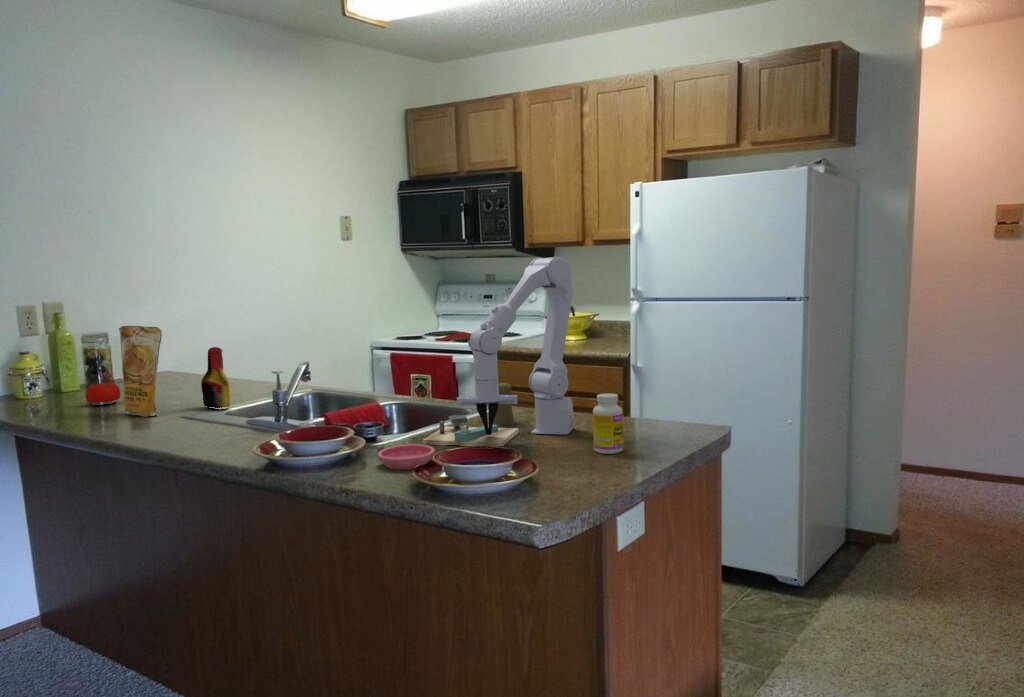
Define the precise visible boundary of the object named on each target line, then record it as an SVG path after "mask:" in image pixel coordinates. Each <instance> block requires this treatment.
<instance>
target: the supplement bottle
mask: <svg viewBox="0 0 1024 697" xmlns="http://www.w3.org/2000/svg"><path fill="white" fill-rule="evenodd" d="M596 401H597V405H595V406H594V408H593V410H592V423H593V424H592V426H593V427H592V430H593V450H594V452H596V453H597V454H603V455H615V454H619V453H622V451H623V450H624V427H623V426H624V424H623V420H624V419H623V418H624V417H623V413H624V412H623V409H622V407H621V406H620V405H619V404H618V401H619V395H618V394H617V393H599V394H597V395H596Z"/></svg>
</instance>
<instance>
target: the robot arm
mask: <svg viewBox="0 0 1024 697" xmlns="http://www.w3.org/2000/svg"><path fill="white" fill-rule="evenodd" d="M571 274H572V267H571V266H570V265H569V263H568V261H566V260H565V258H563V257H562V256H556V257H544V258H543V257H536V258H534V259H533V260H531V262H530V263H529V265H528V266H526V268H525V269H524V273H523V275H522V277H521V279H520V280H519V281H518V283H517V284H516V286H515V287H514V289H513V290H512V291H511V293H510V295H509V296H508V298H507V299H506V301H505V302H504V303H500V304H497V305H494V306H493V307H491V310H490V311H491V313H490V314H489V315H488V317H487V318H486V319H485V321H484V322H481V323H480V328H478V329H475V330H474V331H473V332H472V333H471V334H470V336H469V337H470V338H469V340H467V344H468V347H469V349H470V350H471V351H472V356H473V376H474V378H473V379H474V395H471V396H460V397H459V396H458V397H456V406H457V407H458V408H459V407H465V406H468V407H469V406H476V411H477V412H478V415H479V417H480V418H481V421H482V424H483V426H484V428H485V432H486V435H492V426H493V422H494V419H495V416H496V413H497V411H498V408H499V406H498V404H511V405H518V394H510V395H499V387H498V383H499V370H498V369H499V368H498V367H499V366H498V351H499V350H500V349H501V347H502V342H503V338H504V336H505V335H506V334H507V332H508V331H509V329H510V328H511V327H512V325H513V324H514V323H515V321H516V320H517V311H518V310H519V308H520V307H521V306H522V305H523V304H524V303H525V302H526V300H527V299H528V298H529V297H530V296H531V294H532V293H533V292H534V291H535V290H536V289H538V288H542V289H544V290H545V292H546V293H547V294H548V296H549V303H548V304H549V306H548V310H547V317H546V324H545V329H544V337H543V343H542V349H541V354H540V358H539V359H538V360H537V361H536V362H535V363H534V364H533V365H534V366H533V370H532V372H531V373H530V375H529V378H528V385H529V388H530V390H531V391H532V392H533V396H534V408H535V409H534V412H535V415H534V416H535V428H534V429H532V431H531V432H530V433H531V434H532V435H533V434H534V435H535V434H539V435H540V434H541V435H542V434H543V435H569V434H570V433H571V432H572V430H574V428H575V426H574V404H573V399H572V398H571V397H565V394H566V393H567V392H568V389H569V380H568V372H569V371H568V367H567V366H566V364H565V363H564V361H563V358H564V352H565V346H566V339H567V332H568V328H569V319H570V315H571V314H570V313H571V307H572V300H573V295H574V293H573V292H574V291H573V290H574V289H573V284H572V279H571ZM488 424H489V428H488Z"/></svg>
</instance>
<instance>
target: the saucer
mask: <svg viewBox="0 0 1024 697" xmlns="http://www.w3.org/2000/svg"><path fill="white" fill-rule="evenodd" d="M435 455H436V451H435V448H434V447H433V446H432V445H423V444H420V443H419V444H417V443H416V444H399V445H394V446H389V447H387V448H383V449H381V450H380V451H379V452H378V453H377V459H378V460H379V461H380V463H381V464H383V465H384V466H385V467H386V468H388V469H389V470H390V469H391V470H399V471H403V470H404V471H405V470H414V469H413V468H414V467H416V466H417V465H420V464H423V463H425V462H428V461H429V462H430V461H431V460H432V459H433V457H434V456H435Z"/></svg>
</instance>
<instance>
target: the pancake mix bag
mask: <svg viewBox="0 0 1024 697" xmlns="http://www.w3.org/2000/svg"><path fill="white" fill-rule="evenodd" d="M118 330H119V337H120V349H121V350H120V352H121V353H120V354H121V370H122V371H121V372H122V376H123V377H122V379H123V384H124V386H123V387H124V388H123V389H124V390H123V391H124V412H125V411H129V412H137V413H155V412H156V410H157V408H156V403H155V398H156V389H157V388H156V386H157V376H158V365H159V357H160V348H161V344H162V343H161V342H162V337H163V336H162V334H163V333H162V329H160V328H159V327H158V326H143V325H142V326H141V325H122V326H120V327H118Z"/></svg>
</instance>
